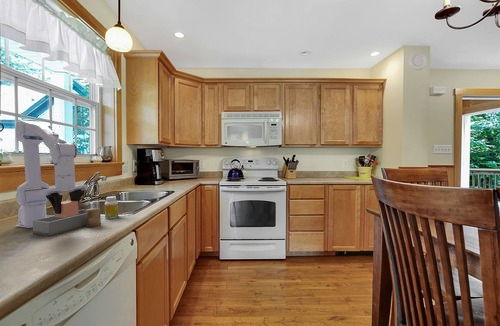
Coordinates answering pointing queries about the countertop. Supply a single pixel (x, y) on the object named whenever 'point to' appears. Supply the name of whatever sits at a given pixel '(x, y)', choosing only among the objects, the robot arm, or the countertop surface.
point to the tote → (59, 224)
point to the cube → (68, 209)
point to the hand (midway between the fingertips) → (66, 211)
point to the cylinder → (93, 217)
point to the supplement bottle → (111, 208)
